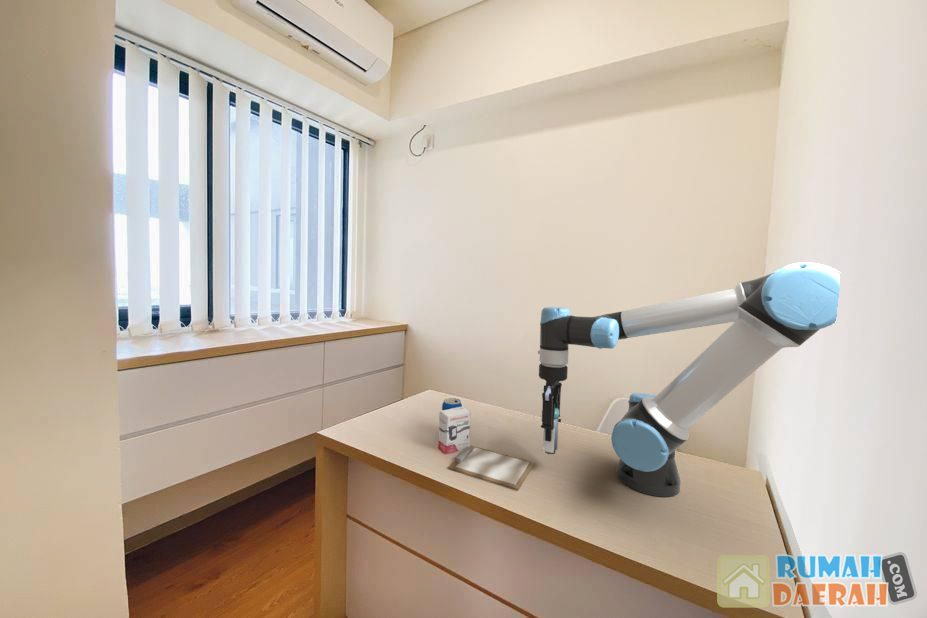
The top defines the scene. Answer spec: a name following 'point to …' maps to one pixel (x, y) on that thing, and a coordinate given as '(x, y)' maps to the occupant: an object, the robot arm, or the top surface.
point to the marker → (555, 430)
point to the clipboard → (492, 466)
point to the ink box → (454, 429)
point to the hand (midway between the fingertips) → (550, 448)
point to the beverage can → (451, 403)
